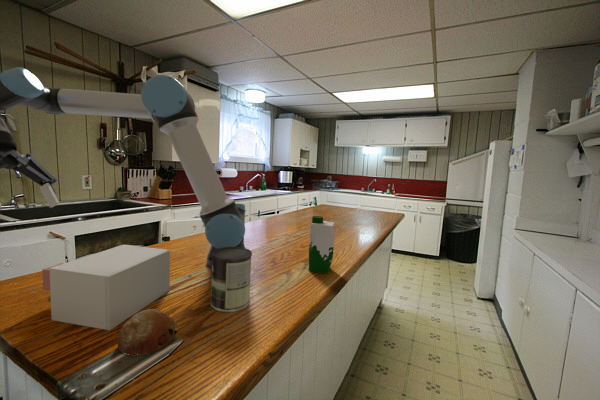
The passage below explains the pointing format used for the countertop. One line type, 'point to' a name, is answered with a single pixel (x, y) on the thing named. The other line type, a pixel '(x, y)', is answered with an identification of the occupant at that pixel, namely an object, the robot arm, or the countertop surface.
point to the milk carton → (321, 245)
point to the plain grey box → (108, 285)
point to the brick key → (47, 277)
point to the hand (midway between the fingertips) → (28, 206)
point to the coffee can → (230, 278)
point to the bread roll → (146, 332)
